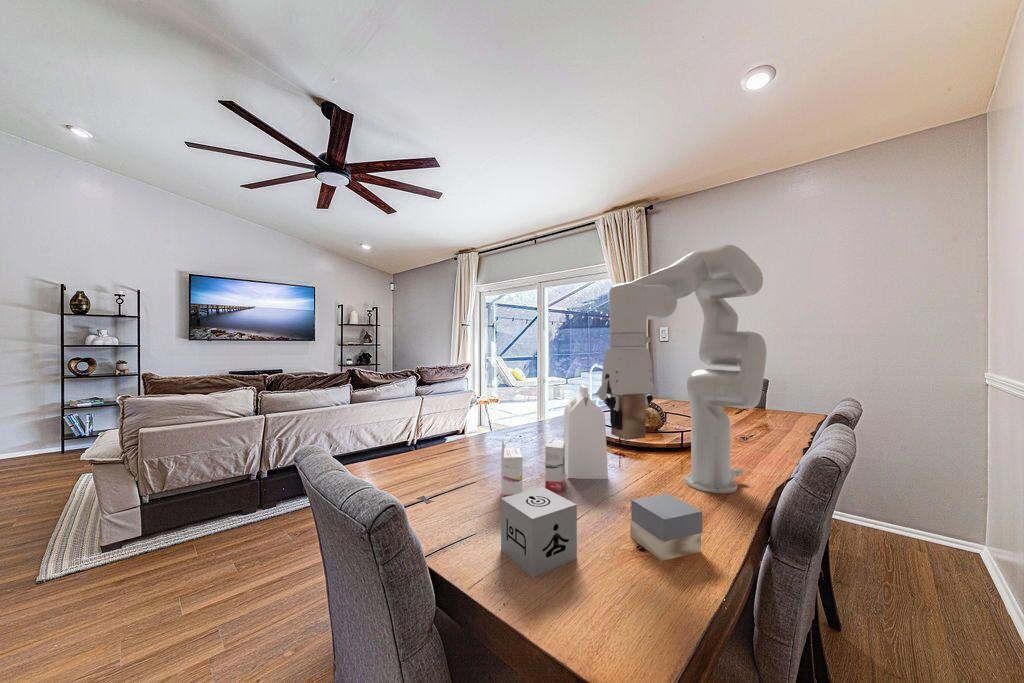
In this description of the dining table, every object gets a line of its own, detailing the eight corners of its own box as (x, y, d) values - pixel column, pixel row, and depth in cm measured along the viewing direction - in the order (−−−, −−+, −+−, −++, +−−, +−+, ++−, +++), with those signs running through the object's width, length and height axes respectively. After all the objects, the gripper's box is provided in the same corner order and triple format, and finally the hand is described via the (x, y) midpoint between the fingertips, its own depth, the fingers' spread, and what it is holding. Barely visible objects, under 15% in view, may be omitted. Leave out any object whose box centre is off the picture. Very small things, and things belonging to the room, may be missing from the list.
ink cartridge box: (523, 506, 90) (523, 444, 90) (502, 506, 90) (502, 445, 90) (519, 491, 99) (519, 435, 99) (500, 492, 98) (500, 436, 98)
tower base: (666, 531, 79) (666, 512, 79) (700, 554, 70) (700, 533, 70) (630, 538, 76) (630, 519, 76) (661, 563, 67) (661, 541, 67)
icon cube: (501, 551, 71) (500, 498, 71) (542, 535, 77) (542, 486, 77) (532, 578, 63) (532, 518, 63) (576, 559, 68) (576, 504, 68)
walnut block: (631, 432, 83) (631, 391, 83) (645, 437, 78) (645, 394, 78) (611, 434, 82) (611, 392, 82) (624, 439, 77) (624, 395, 77)
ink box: (563, 493, 98) (563, 447, 98) (544, 491, 99) (544, 446, 99) (565, 481, 106) (565, 439, 107) (548, 479, 107) (548, 438, 108)
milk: (608, 479, 108) (607, 388, 108) (567, 479, 108) (567, 388, 108) (598, 465, 120) (598, 384, 120) (562, 465, 120) (562, 384, 120)
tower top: (666, 512, 79) (666, 493, 79) (702, 532, 70) (702, 511, 70) (631, 519, 76) (631, 499, 76) (664, 541, 67) (663, 519, 67)
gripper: (650, 341, 86) (650, 421, 86) (583, 342, 81) (583, 426, 81) (673, 341, 79) (673, 428, 79) (601, 342, 74) (602, 435, 74)
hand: (628, 426), depth 80 cm, fingers closed on walnut block, 5 cm apart
